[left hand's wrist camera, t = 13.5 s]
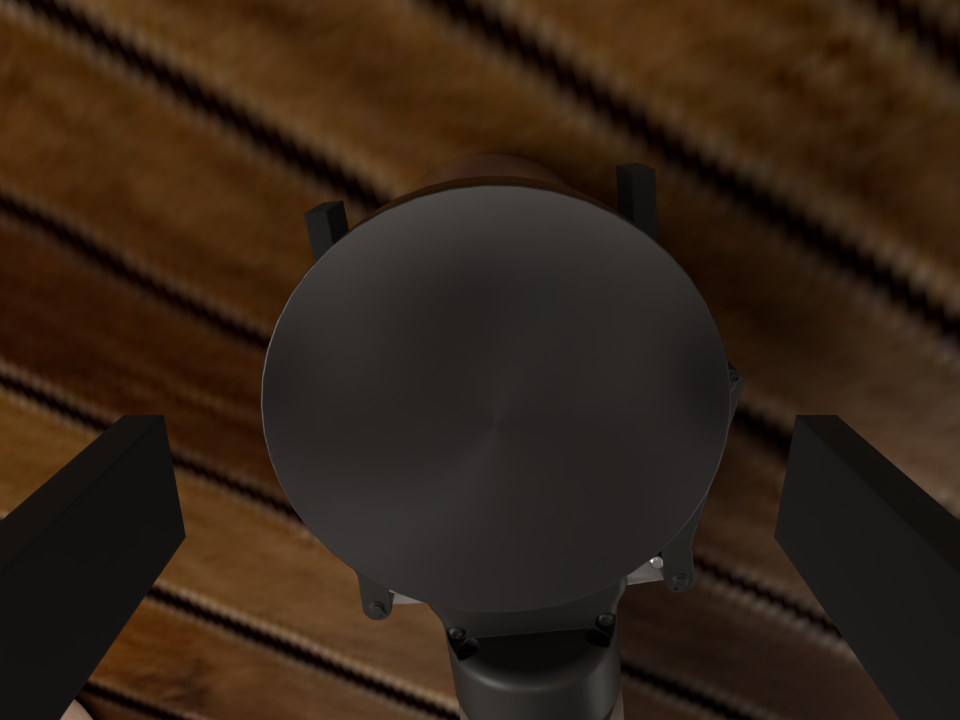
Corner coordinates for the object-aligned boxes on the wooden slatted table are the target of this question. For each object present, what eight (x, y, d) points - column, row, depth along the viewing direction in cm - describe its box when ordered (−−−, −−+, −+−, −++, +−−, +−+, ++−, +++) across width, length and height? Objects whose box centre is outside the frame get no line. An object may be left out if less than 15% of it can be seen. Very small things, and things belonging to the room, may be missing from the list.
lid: (343, 587, 19) (328, 638, 18) (231, 220, 16) (195, 235, 14) (716, 533, 19) (742, 581, 17) (688, 135, 15) (717, 139, 13)
